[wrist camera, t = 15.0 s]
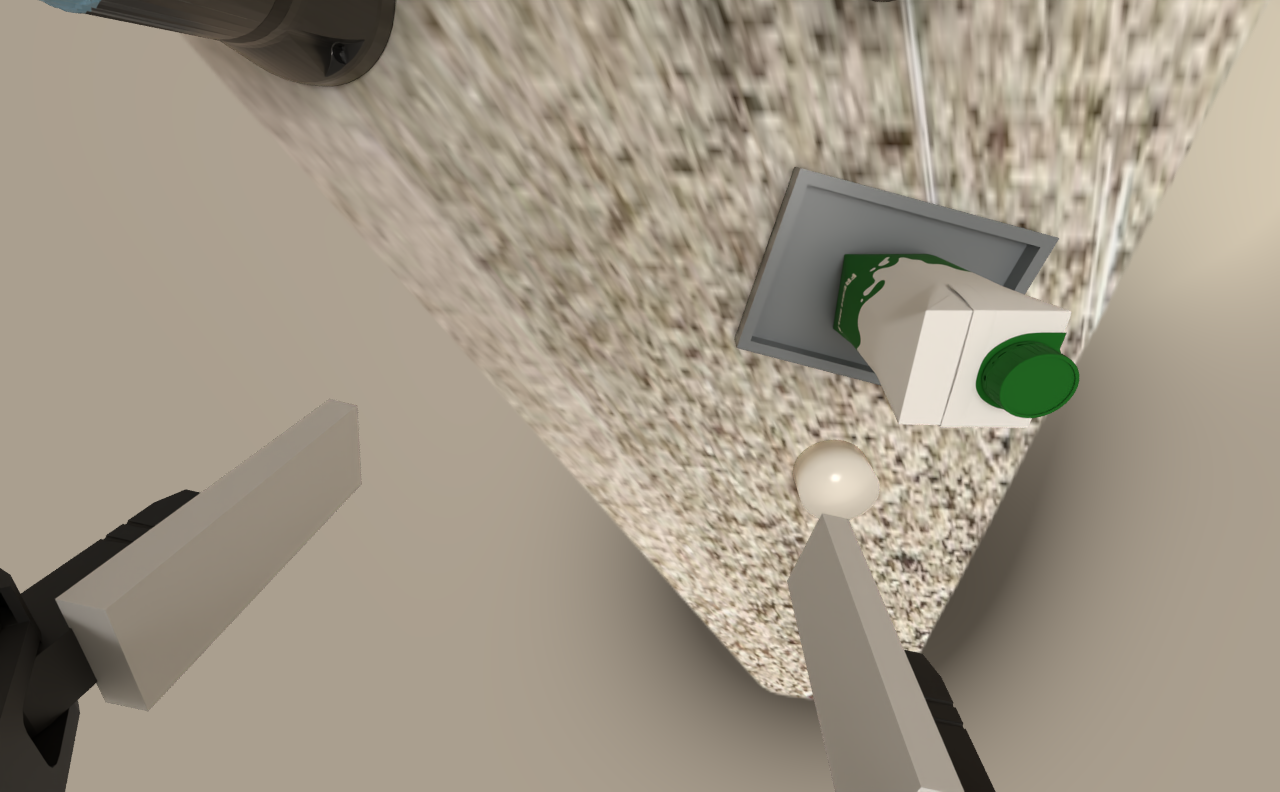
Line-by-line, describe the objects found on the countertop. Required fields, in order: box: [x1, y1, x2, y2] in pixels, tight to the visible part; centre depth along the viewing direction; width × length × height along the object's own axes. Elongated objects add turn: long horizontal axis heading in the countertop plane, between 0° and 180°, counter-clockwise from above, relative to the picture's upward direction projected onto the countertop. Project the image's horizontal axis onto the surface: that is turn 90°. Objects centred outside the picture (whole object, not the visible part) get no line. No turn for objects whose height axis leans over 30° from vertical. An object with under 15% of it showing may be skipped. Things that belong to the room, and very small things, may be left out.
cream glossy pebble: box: [793, 440, 880, 520], centre depth 54 cm, size 8×8×4 cm
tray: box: [735, 167, 1059, 385], centre depth 45 cm, size 22×16×2 cm
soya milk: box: [833, 254, 1079, 428], centre depth 37 cm, size 9×9×20 cm
